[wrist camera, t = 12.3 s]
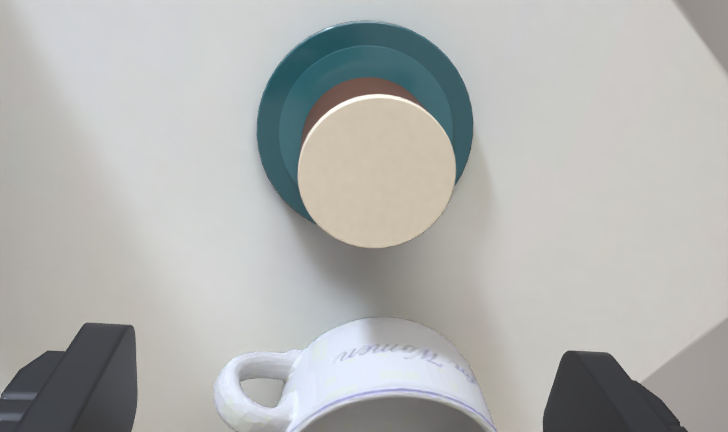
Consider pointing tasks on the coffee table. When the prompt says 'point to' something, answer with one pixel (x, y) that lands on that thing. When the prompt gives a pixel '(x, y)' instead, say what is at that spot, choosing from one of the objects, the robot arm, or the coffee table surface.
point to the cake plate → (349, 61)
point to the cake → (374, 164)
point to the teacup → (359, 384)
